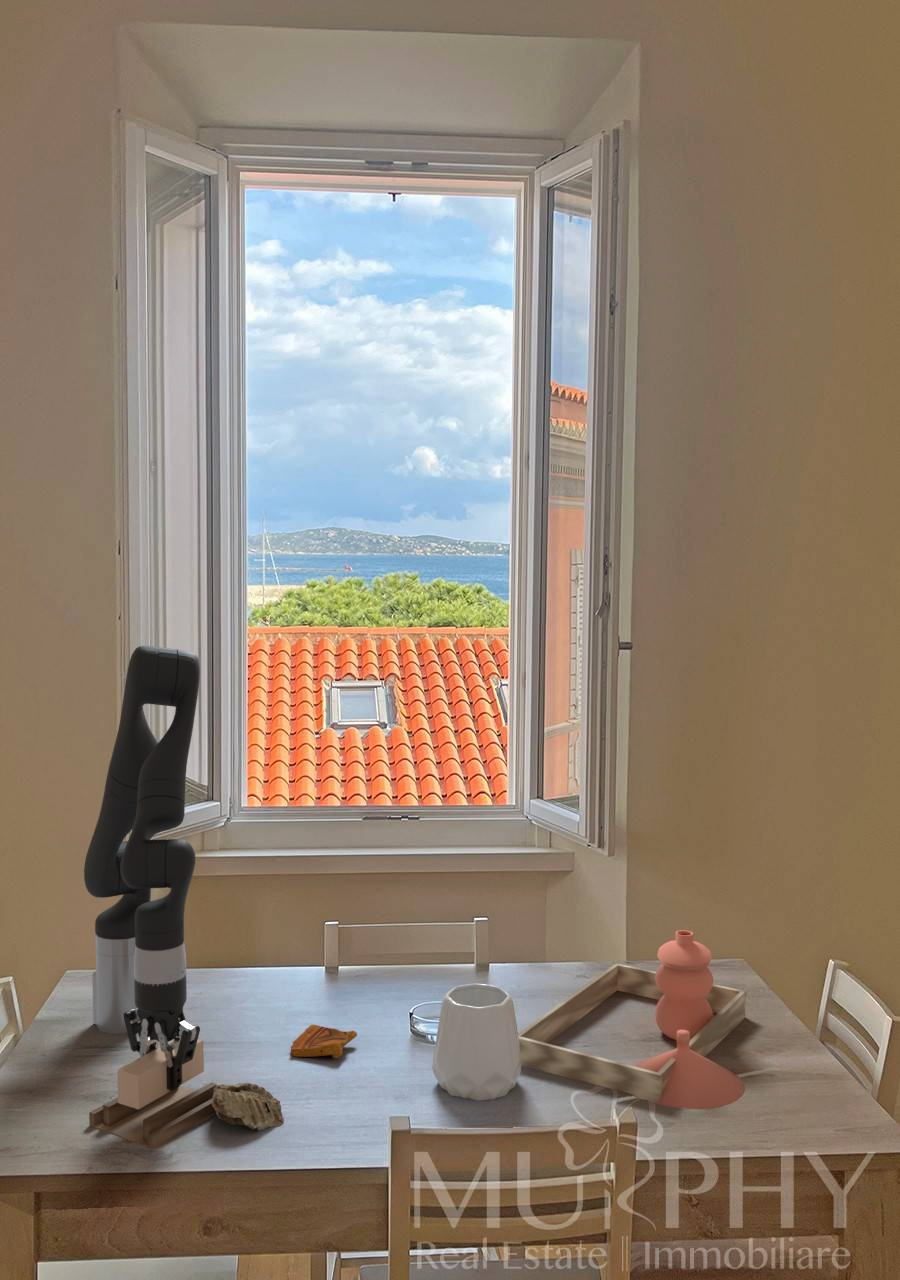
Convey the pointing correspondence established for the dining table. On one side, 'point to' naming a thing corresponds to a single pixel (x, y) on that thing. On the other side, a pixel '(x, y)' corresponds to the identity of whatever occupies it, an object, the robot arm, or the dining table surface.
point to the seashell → (247, 1106)
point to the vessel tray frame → (612, 1072)
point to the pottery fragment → (321, 1042)
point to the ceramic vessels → (688, 1028)
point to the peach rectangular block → (153, 1076)
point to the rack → (156, 1116)
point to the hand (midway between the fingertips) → (162, 1083)
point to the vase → (477, 1043)
